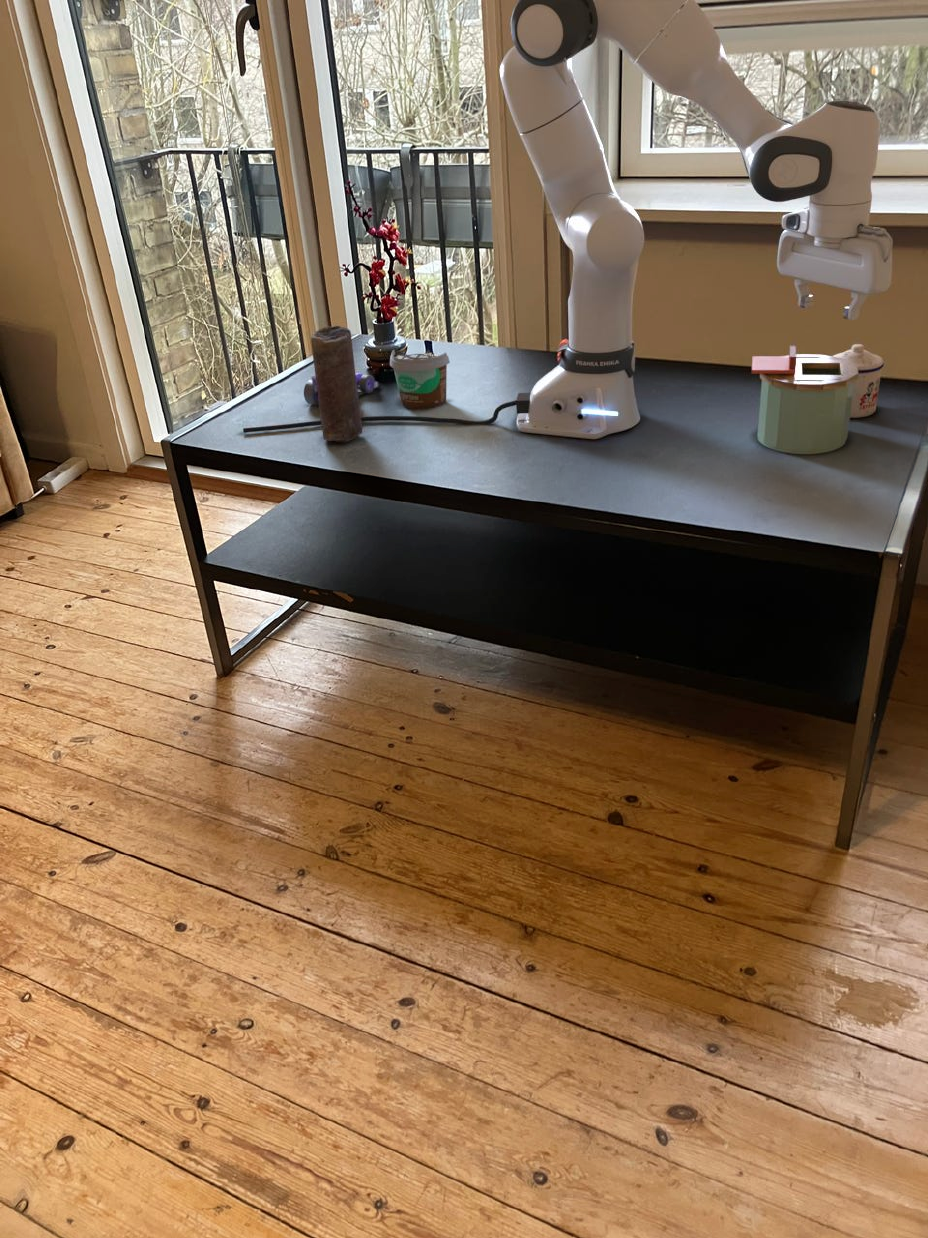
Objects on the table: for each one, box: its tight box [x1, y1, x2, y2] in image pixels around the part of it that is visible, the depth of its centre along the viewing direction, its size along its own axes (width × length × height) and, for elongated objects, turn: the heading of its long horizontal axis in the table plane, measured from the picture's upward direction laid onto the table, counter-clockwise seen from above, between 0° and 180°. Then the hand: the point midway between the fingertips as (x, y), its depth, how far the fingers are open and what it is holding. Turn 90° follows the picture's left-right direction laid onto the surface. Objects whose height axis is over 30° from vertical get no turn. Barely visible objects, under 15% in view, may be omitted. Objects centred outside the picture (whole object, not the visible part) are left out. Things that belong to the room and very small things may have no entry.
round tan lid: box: [759, 353, 859, 390], centre depth 165 cm, size 15×15×1 cm
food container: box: [389, 349, 450, 410], centre depth 197 cm, size 12×6×10 cm, turn 68°
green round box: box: [756, 369, 855, 455], centre depth 168 cm, size 14×14×11 cm
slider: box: [751, 345, 797, 375], centre depth 165 cm, size 7×7×3 cm
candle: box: [310, 325, 363, 443], centre depth 182 cm, size 8×7×20 cm
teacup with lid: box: [831, 343, 885, 419], centre depth 178 cm, size 12×9×12 cm
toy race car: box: [303, 372, 379, 406], centre depth 205 cm, size 10×15×6 cm, turn 152°
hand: (827, 312), depth 159 cm, fingers open, 8 cm apart
